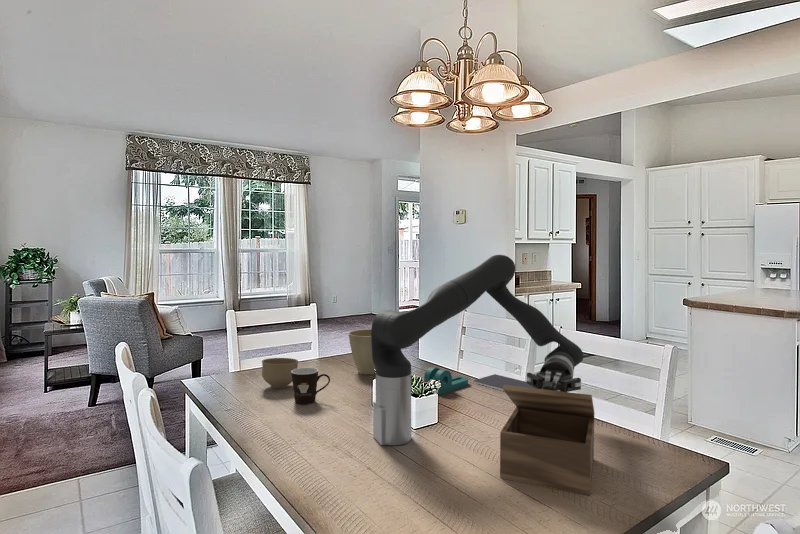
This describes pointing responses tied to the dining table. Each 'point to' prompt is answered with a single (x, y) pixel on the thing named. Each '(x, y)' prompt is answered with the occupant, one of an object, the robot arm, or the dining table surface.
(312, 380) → the coffee mug
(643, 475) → the dining table surface
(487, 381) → the notebook
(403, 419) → the robot arm
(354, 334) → the plant pot
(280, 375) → the bowl
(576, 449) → the wooden box
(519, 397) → the box lid
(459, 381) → the bracket
